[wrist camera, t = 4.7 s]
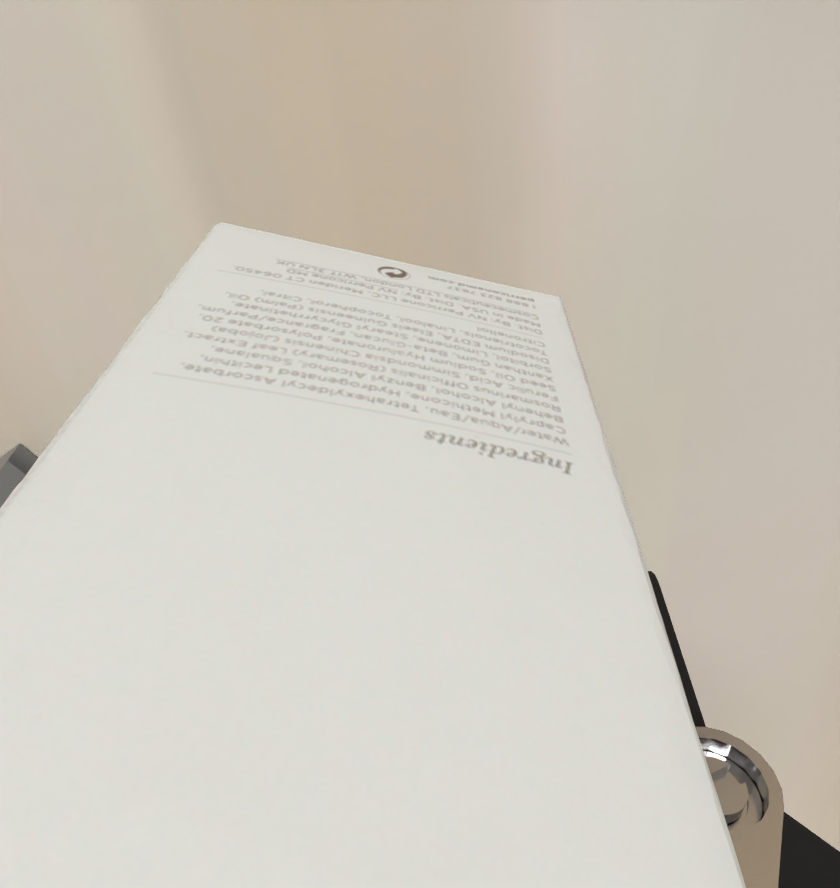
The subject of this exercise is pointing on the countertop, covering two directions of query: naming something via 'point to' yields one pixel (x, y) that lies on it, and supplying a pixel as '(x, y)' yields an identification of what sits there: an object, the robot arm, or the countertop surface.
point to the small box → (340, 603)
